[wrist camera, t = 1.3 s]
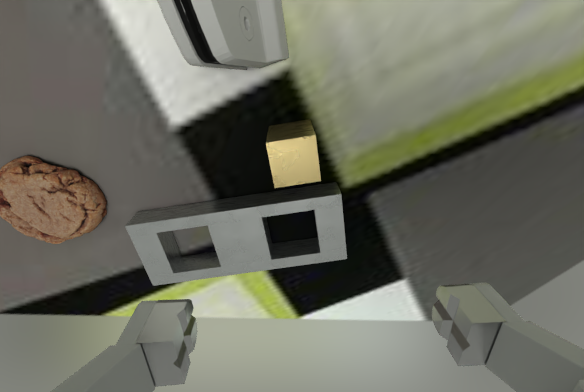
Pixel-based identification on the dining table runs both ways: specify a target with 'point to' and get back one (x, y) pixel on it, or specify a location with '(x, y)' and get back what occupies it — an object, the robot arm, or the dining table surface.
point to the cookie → (49, 200)
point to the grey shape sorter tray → (239, 234)
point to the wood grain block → (293, 153)
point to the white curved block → (227, 32)
